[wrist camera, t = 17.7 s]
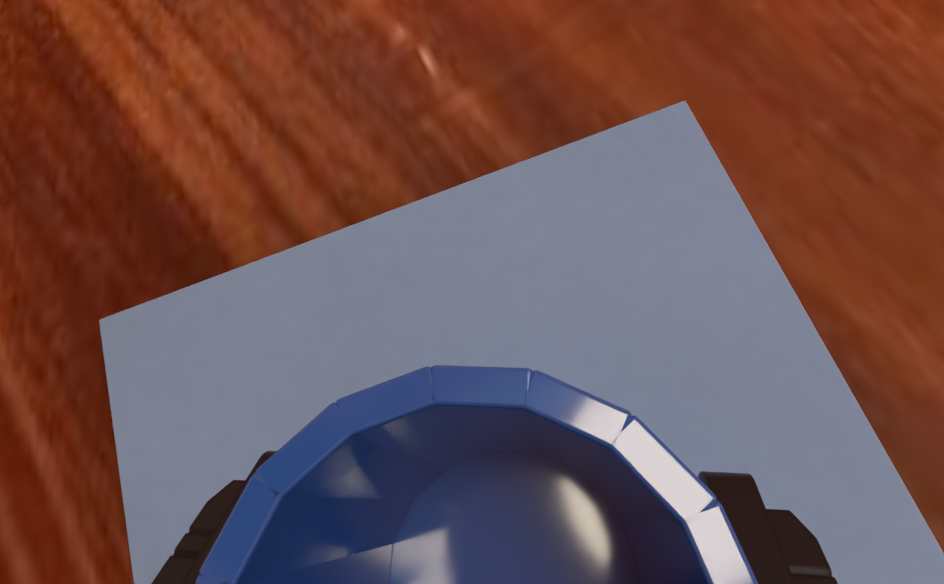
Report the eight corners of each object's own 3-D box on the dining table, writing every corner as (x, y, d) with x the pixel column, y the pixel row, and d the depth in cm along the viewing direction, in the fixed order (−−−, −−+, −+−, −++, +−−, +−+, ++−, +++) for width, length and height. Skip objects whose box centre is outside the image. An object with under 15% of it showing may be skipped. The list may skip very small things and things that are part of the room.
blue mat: (256, 1265, 12) (231, 1332, 11) (120, 328, 19) (98, 319, 18) (1142, 948, 12) (1194, 988, 11) (679, 119, 18) (685, 99, 18)
